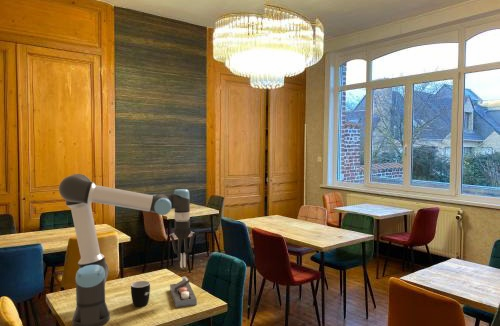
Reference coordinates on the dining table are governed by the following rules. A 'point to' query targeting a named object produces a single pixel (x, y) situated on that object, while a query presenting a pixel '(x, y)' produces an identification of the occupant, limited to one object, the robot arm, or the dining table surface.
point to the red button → (183, 289)
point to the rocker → (181, 283)
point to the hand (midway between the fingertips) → (182, 266)
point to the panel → (177, 296)
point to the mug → (140, 293)
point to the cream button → (184, 295)
